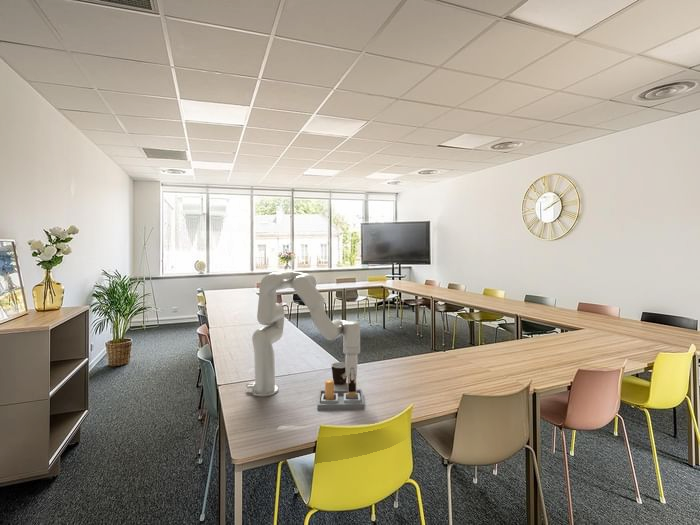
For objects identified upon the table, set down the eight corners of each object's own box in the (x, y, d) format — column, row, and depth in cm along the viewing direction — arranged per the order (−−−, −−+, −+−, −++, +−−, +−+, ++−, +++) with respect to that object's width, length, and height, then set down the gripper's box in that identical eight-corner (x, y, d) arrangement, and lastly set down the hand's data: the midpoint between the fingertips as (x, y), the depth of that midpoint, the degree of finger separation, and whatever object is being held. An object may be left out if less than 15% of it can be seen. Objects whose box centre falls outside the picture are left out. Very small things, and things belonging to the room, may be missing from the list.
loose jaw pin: (347, 395, 151) (347, 375, 150) (347, 392, 155) (347, 372, 154) (356, 395, 151) (356, 375, 150) (356, 391, 155) (356, 372, 154)
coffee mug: (333, 388, 169) (333, 368, 169) (329, 381, 177) (329, 363, 177) (355, 385, 172) (355, 366, 172) (351, 379, 180) (351, 360, 180)
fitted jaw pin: (325, 403, 150) (324, 383, 150) (325, 399, 154) (325, 379, 154) (334, 403, 151) (333, 383, 150) (334, 399, 155) (334, 379, 154)
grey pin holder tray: (317, 411, 145) (317, 404, 145) (319, 396, 160) (319, 390, 160) (364, 410, 146) (364, 404, 145) (361, 395, 160) (361, 389, 160)
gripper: (343, 344, 160) (343, 382, 161) (343, 355, 143) (343, 397, 144) (359, 343, 160) (359, 381, 161) (361, 354, 144) (361, 397, 144)
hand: (351, 388), depth 153 cm, fingers closed on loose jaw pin, 4 cm apart
